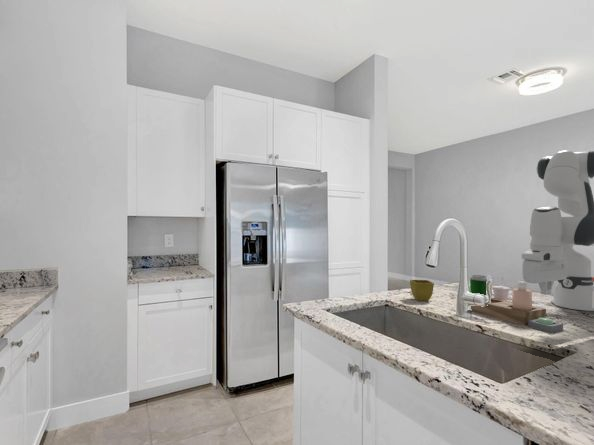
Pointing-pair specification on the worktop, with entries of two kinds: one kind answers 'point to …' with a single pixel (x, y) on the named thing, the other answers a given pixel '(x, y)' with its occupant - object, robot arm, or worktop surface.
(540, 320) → the button
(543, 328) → the button housing
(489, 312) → the pallet
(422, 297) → the flower pot
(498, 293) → the smoothie
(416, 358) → the worktop surface
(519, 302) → the bottle
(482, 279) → the soda can
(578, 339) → the worktop surface
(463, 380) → the worktop surface
